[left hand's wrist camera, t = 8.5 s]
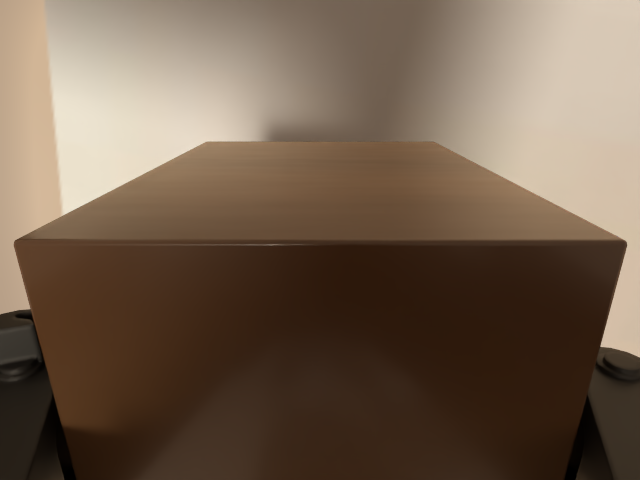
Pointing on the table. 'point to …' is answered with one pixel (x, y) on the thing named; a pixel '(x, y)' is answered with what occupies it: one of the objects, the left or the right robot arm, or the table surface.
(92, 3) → the table surface
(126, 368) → the box
